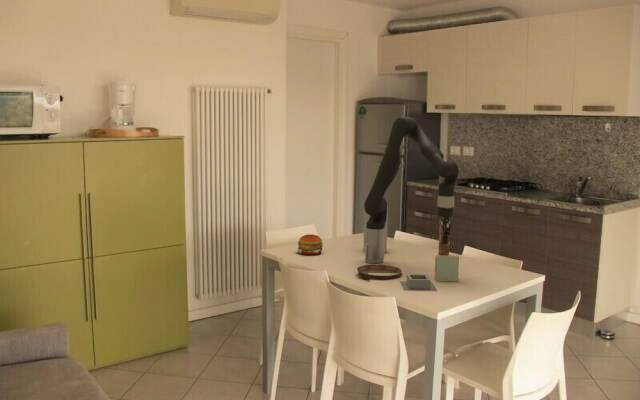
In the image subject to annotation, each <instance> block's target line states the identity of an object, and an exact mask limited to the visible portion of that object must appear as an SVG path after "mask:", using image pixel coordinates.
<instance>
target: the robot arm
mask: <svg viewBox="0 0 640 400" xmlns="http://www.w3.org/2000/svg"><path fill="white" fill-rule="evenodd" d="M404 137H409V138H410V139H412V140H413V141H414V142H415V143H416V144H417V146H418V148H419V152H420V153H421V154H422V156H423V157H424V158H425V159H426V160H427V161H428V162H429V163H430V164H431V167H432V169H433V170H434V172H435V174H436V175H437V176H438V177H440V178H444V179H443V181H441V182H440V183H439V184H438V190H437V191H438V193H437V202H436V203H437V204H436V216H438V217H440V218H439V220H438V221H439V224H440V223H441V224H442V231H443V242H442V243H443V244H447V243H448V235H450V236H451V226H452V225H451V220H450V218H453V217H454V215H455V187H456V186H455V185H456V183H457V180H458V177H459V171H460V170H459V169H460V168H459V166H458V163H456V162H455V161H452V160H451V161H445V160H444V158H445V156H444V153H443V152H442V151H441V150H440V149H439V148H438V147H437V146H436V145H435V144H434V143H433V142H432V141H431V139H430V138H429V137H428V136H427V135H426V133H425V132H424V130H423V129H422V127H421V126H420V124H419V123H418V121H417V120H416V119H415V118H413V117H410V116H405V115H404V116H398V117H396V118H395V119H394V121H393V124H392V126H391V130H390V134H389V138H388V141H387V145H386V147H385V151H384V153H383V156H382V159H381V161H380V164H379V167H378V170H377V172H376V175H375V178H374V181H373V184H372V185H371V188H370V191H369V192H368V195H367V196H366V199H365V201H364V204H363V208H364V209H365V212H366V213H367V214H368V215H370V218H369V220H368V221H367V223H366V242H365V252H364V261H365V263H369V264H383V263H384V260H385V253H384V234H385V223H386V219H387V206H388V202H387V200H386V198H385V197H384V196H385V193H386V191H387V190H388V188H389V187H390V186H391V184H392V183H393V182H394V181H395V178H396V177H397V174H398V173H399V170H400V167H401V163H402V162H401V159H402V158H401V147H402V146H401V145H402V144H403V143H402V142H403V139H404ZM443 227H444V229H443ZM445 231H447V233H445Z"/></svg>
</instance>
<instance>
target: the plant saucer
mask: <svg viewBox="0 0 640 400" xmlns="http://www.w3.org/2000/svg"><path fill="white" fill-rule="evenodd" d="M356 270H357V272H358V274H359V275H360V276H361V277H362V278H364V279H367V280H371V279H373V280H391V279H396V278H398V277H399V276H400V275H401V274H402V272H403V270H402V269H401V268H399V267H396V266H393V265H386V264H366V265H360V266H358V267H357V268H356ZM376 274H377V275H376ZM378 274H386V275H378ZM387 274H388V275H387Z"/></svg>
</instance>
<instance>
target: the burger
mask: <svg viewBox="0 0 640 400" xmlns="http://www.w3.org/2000/svg"><path fill="white" fill-rule="evenodd" d="M297 245H298V247H297V251H298V253H299V254H303V255H311V256H312V255H319V254H321V253H322V251H323V247H324V246H323V245H324V244H323V240H322V238H321V237H320V236H318V235H315V234H305V235H302V236H301V237H300V238H299V239H298V242H297Z"/></svg>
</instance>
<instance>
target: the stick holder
mask: <svg viewBox="0 0 640 400" xmlns="http://www.w3.org/2000/svg"><path fill="white" fill-rule="evenodd" d="M399 283H400V285H401V287H402V290H403V291H404V292H411V291H412V292H438V290H437V288H436V286H435V285H434V283H433V282H432V281H431V279H430V276H429V275H428V274H426V273H425V274H424V273H423V274H422V273H420V274H419V273H415V274H414V273H407V274H406V280H404V281H403V280H400V281H399Z"/></svg>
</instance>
